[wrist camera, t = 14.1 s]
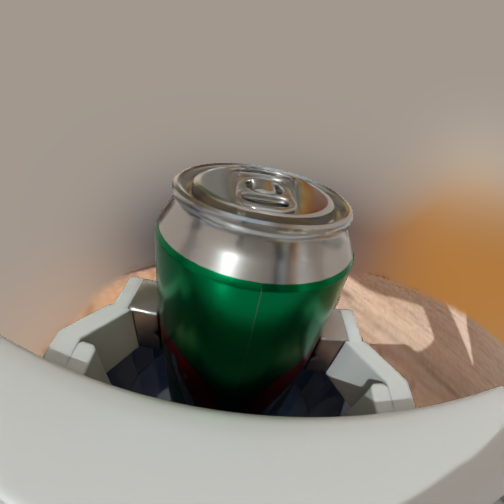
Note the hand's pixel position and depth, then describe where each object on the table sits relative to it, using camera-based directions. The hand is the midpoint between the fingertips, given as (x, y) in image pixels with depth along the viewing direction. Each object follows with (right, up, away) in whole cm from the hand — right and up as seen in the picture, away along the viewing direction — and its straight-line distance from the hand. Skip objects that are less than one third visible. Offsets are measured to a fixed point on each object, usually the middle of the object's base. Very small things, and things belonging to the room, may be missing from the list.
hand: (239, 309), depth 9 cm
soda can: (-1, -7, +3) cm, 7 cm away
